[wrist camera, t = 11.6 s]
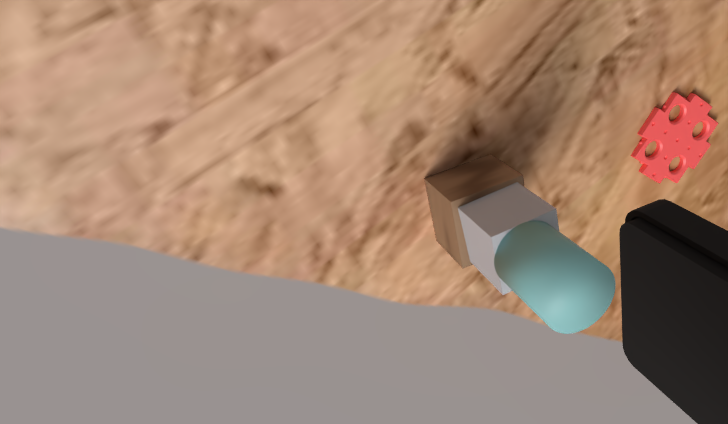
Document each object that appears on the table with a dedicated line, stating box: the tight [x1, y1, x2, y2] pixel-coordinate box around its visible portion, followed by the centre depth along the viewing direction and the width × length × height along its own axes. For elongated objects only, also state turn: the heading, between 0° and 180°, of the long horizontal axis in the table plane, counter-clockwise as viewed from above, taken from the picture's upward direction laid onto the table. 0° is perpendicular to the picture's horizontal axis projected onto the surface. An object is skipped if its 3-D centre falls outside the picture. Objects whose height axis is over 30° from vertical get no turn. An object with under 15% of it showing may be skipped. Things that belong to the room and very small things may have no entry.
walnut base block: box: [424, 154, 524, 268], centre depth 48 cm, size 6×6×5 cm
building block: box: [631, 92, 718, 183], centre depth 55 cm, size 1×8×8 cm
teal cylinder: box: [494, 220, 615, 334], centre depth 39 cm, size 5×5×6 cm
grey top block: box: [458, 182, 559, 295], centre depth 44 cm, size 5×5×5 cm
